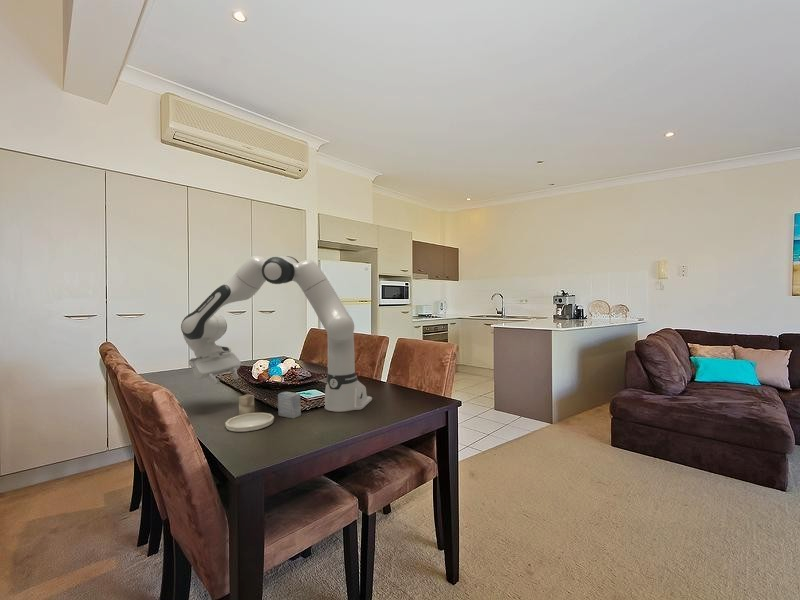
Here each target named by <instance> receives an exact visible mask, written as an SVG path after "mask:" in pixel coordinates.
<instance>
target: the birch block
mask: <svg viewBox="0 0 800 600" xmlns="http://www.w3.org/2000/svg"><path fill="white" fill-rule="evenodd" d="M248 413H255V394H248V393H247V394H244V395H240V396H238V415H243V414H248Z"/></svg>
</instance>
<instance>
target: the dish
mask: <svg viewBox="0 0 800 600" xmlns="http://www.w3.org/2000/svg"><path fill="white" fill-rule="evenodd" d="M274 420H275V415H273V414H272V413H268V412H254V413H248V414H243V415H239V414H238V415H235V416H234V417H231V418H228V419H227V420H226V421H225V422H224V424H225V428H226V430H228V431H230V432H236V433H237V432H239V433H241V432H242V433H243V432H252V431H256V430H257V431H258V430H261V429H264V428H266V427H267V428H268V426H270V425H272V424H273V423H274Z"/></svg>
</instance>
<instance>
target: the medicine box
mask: <svg viewBox="0 0 800 600" xmlns="http://www.w3.org/2000/svg"><path fill="white" fill-rule="evenodd" d="M301 408H302V407H301V393H300V392H299V393H297V392H290V391H282V392H280V393H278V394H277V409H278V411H277V413H278V416H280V417H285V418H289V419H296V418H298V417H300V416H301V415H302V410H301Z"/></svg>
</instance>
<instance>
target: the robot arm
mask: <svg viewBox="0 0 800 600" xmlns="http://www.w3.org/2000/svg"><path fill="white" fill-rule="evenodd" d="M266 282H268V283H269V284H273V285H281V284H287V283H290V282H295V283H296V284H297V285H298V286H299V288H300V289H301V291H302V292H303V294H304V296H305V297H306V299H307V300H308V302H309V304H310V305H311V308H313V310H314V312H315V314H316V316H317V318H318V319H319V321H320V323H321V325H322V326H323V328H324V330H325V332H326V334H327V339H326V340H327V373H326V382H327V384H326V385H325V390H324V401H325V403H324V404H325V406H324V409H325V410H327V411H331V412H339V413H340V412H350V411H356V410H357V411H359V410H362V409H364V408H365V407H366V406H367V405H368V404H369V403H370V402H371V401H372V400H373V397H372V396H370V395H367V388H366V385H364V384H363V383H361V382H360V380H358V377H360V376H361V371H359V370H356V368H355V364H356V361H355V359H356V358H355V334H354V332H355V323H354V321H353V318H352V317H351V315H350V314H349V311H348V310H347V309H346V307H345V306H344V304H343V302H342V300H341V299H340V298H339V296H338V294H337V292H336V291H335V289H334V287H333V286H332V284H331V282H330V281H329V280H328V277H327V276H326V275H325V273H324V272H323V271H322V269H321V268H320V267H319V266H318V264H317V263H316V262H315V261H314V260H312V259H304V260H301V261H300V262H299V260H297V259H296V258H295V257H292V256H288V255H287V256H285V255H277V256H272V257H270V258H268V259H267V258H265V257H263V256H261V255H253V256H251V257H250V258H248V259H247V260H246V261H245V262H244V263H243V264H242V265H241V266H240V267H239V268H238V269H237V270H236V272H235V273H234V274H233V276H231V277H230V279H228V280H227V281H226V282H225V283H223V284H222V285H220V286H218V287H217V288H216V289H215V290H214V291H213V292H211V293H210V294H209V296H207V297H206V298H205V299H204V300H203V302H202V303H200V305H199V306H198V307H197V308H195V310H194V311H192V312H191V313H189V314H187V315H186V316H185V317H184V318H183V319H182V321H181V325H180V329H181V332H182V336H183V339H184V341H185V343H186V345H187V346H188V347H189V348H190V350H191V351H193V353H194V356H195V358H193V357H192V358H190V359H189V361H188V365H189V366H190V367H191V371H192V373H193V375H194V377H195V378H196V379H198V380H201V379H207V381H210V382H213V384H214V385H217V384H219V383H220V379H219V377H215V376H218V375H221V374H227V373H231V374H232V375H231V377H232V379H233V380H237V379H238V378H239V374H238V373H237V372H238V370H239V368H240V367H241V364H242V362H241V360H240V359H239V358H238V356H237V355H236V354H235V353H234V352H231V351H232V349H231V347H229V346H222V345H219V344H216V341H218V340H219V339H220V338H222V337H223V336H224V335H225V334H226V331H227V329H228V325H227V321H226V320H225V318H224V317H223V316H221V315H216V313H217V312H218V311H219V310H220V309H221V308H222V307H225V306H226V305H228V304H231V303H235V302H242V301H247V300H249V299H251V298H252V297H253V296H255V295H256V294H257V292H258V291H259V290H260V289H261V288H262V287H263V285H264V284H265V283H266Z"/></svg>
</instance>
